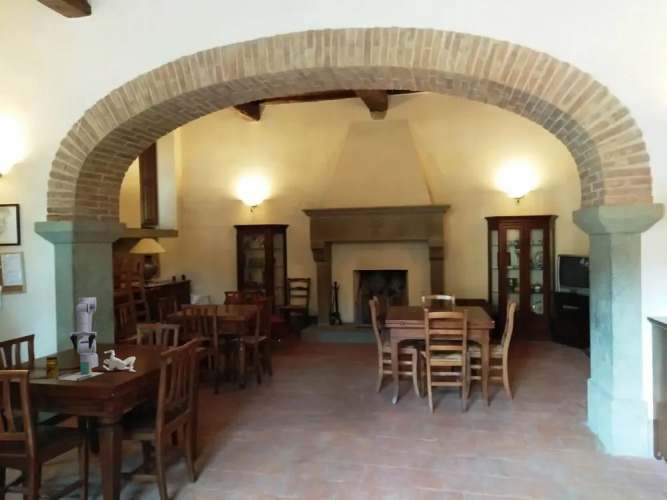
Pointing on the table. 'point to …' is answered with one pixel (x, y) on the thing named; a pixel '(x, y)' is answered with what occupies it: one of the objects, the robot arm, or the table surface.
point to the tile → (85, 367)
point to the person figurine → (118, 362)
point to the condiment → (52, 367)
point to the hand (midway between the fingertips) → (82, 348)
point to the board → (77, 376)
